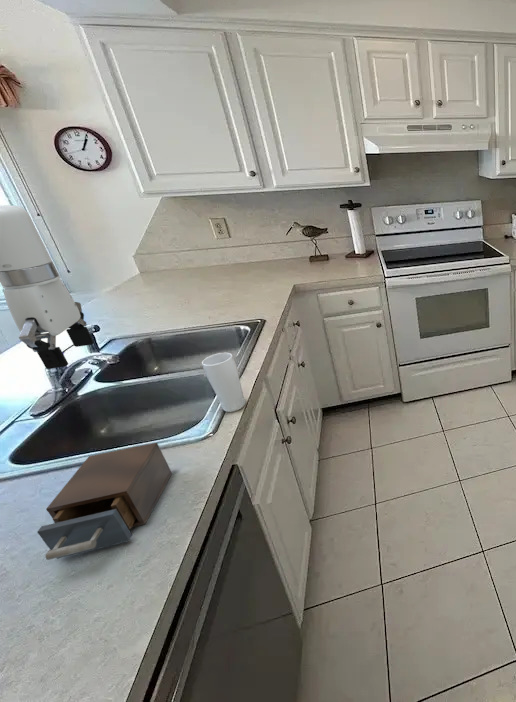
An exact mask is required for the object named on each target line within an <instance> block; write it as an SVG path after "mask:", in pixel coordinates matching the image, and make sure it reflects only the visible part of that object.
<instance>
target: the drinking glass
mask: <svg viewBox="0 0 516 702" xmlns="http://www.w3.org/2000/svg"><path fill="white" fill-rule="evenodd" d="M201 366H202V368H203V371H204V373H205V376H206V378H207V380H208V382H209V384H210V386H211V389H212V390H213V392H214V394H215V395H216V397H217V399H218V401H219V404H220V405H221V408H222V410H223V411H224V412H226V413H232V412H237V411H239V410H241V409H242V408H244V406H245V405H246V399H245V396H244V391H243V388H242V384H241V379H240V374H239V371H238V366H237V364H236V361H235V359H234V356H233V354H232V353H231V352H218V353H213V354H211V355H209V356H207V357H205V358H204V359H203V360H202V361H201Z"/></svg>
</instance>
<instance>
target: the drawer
mask: <svg viewBox="0 0 516 702" xmlns="http://www.w3.org/2000/svg"><path fill="white" fill-rule="evenodd" d="M135 520H136V516H135V515H134V513H133V511H132V510H131V508H130V506H129V504H128V503H127V501H126V499H125V498H124V496H123V495H122V496H118V497H114V498H109V499H105V500H100V501H96V502H91V503H87V504H82V505H78V506H74V507H69V508H65V509H60V510H59V512H58V513H57V514H56V515H55V517H54V518H52V521H53V523H49V524H44V525H41V526H40V527H39V529H38V530H37V531H36V533H37V534H38V535H39V537H40V538H41V539H42V541H43V543H45V545H46V546H47V548H48V549H49V550H47V552H46V553H45V560H47V561H49V560H54V559H57V560H59V559H62V558H67V557H71V556H75V555H78V554H83V553H87V552H91V551H94V550H98V549H99V550H100V549H103V548H107V547H110V546H115V545H118V544H122V543H126V542H129V541H130V540H131V539H132V536H133V534H132V533H131V531H130V530H131V529H132V528H133V527H132V525H133V524H134V522H135ZM131 527H132V528H131Z"/></svg>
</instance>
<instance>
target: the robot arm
mask: <svg viewBox="0 0 516 702" xmlns="http://www.w3.org/2000/svg"><path fill="white" fill-rule="evenodd" d="M0 285H1V286H2V288H3V290H2V291H3V296H4V299H5V302H6V305H7V308H8V310H9V312H10V315H11V317H12V318H13V320H14V323H15V325H16V328H17V329H18V331H19V332H20V333H19V335H18V339H19V340H20V341H21V342H23V343H24V344H25V345H26V347H27V348H28V349H31V350H32V351H33V352H34V353H37V355H38V356H39V358H40V360H41V362H42V363H43V365H44V367H45V368H46V369H48V370H51V369H52V370H53V369H56V368H57V369H58V368H65V367H68V365H69V362H68V360H67V358H66V356H65V355H64V353H63V351H62V349H61V348H60V346H56V345H57V342H56V341H57V336H59V335H60V334H61V333H63V332H65V331H66V333H67V335H68V337H69V339H70V341H71V343H72V344H73V346H74V347H75V348H76V347H85V346H92V345H94V344H95V341H94V339H93V337H92V335H91V333H90V331H89V329H88V327H87V321H86V320H84V319H85V313H84V312H83V308H82V304H81V302H78V301H75V300H74V298H73V297H72V295H71V293H70V291H69V290H68V288H67V287H66V285H65V283H64V282H63V281H62V279H61V276H60V273H59V271H58V270H57V267H56V266H55V264H54V262H53V259H52V258H51V256H50V254H49V252H48V249H47V247H46V245H45V244H44V242H43V240H42V238H41V236H40V234H39V232H38V229H37V228H36V226H35V224H34V222H33V220H32V218H31V216H30V214H29V212H28V211H27V210H26V209H25V208H23V207H22V206H18V205H13V204H12V205H11V204H7V205H6V204H4V205H3V204H2V205H0ZM42 339H43V340H42ZM44 339H47V340H46V341H47V342H46V341H44Z"/></svg>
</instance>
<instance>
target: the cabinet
mask: <svg viewBox="0 0 516 702" xmlns="http://www.w3.org/2000/svg"><path fill="white" fill-rule="evenodd" d="M172 475H173V472H172V470H171V468H170V466H169V464H168V462H167V460H166V458H165V455H164V454H163V452H162V450H161V448H160V446H159V443H158V442H153V443H149V444H148V443H147V444H143V445H137V446H133V447H128V448H123V449H118V450H113V451H108V452H103V453H98V454H93V455H89V456H88V457H87V458H86V459H85V461H84V462H83V463H82V464H81V465H80V467H79V468H78V469H77V471H76V472H75V473H74V474H73V475H72V477H70V479H69V480H68V481H67V483H66V484H65V485H64V486H63V487H62V489H60V490H59V493H58V494H57V495H56V496H55V497H54V498H53V499H52V501H51V502H50V503H49V505H47V507H46V508H45V510H46V512H47V513H48V514H49V516H50V517H51V518H52V519H53V518H54V517H55V515H56V514H57V513H58V512H59V510H60V509H65V508H69V507H74V506H78V505H82V504H87V503H91V502H96V501H100V500H105V499H109V498H114V497H118V496H122V495H123V496H124V498H125V499H126V501H127V503H128V504H129V506H130V508H131V510H132V511H133V513H134V515H135V516H136V520H135V522H134V524H133V525H132V527H131V529H132V528H136V527H139V526H144V525H146V524H147V522H148V520H149V518H150V517H151V514H152V513H153V511H154V509H155V506H156V505H157V503H158V501H159V499H160V498H161V496H162V493H163V492H164V490H165V488H166V486H167V484H168V482H169V480H170V478H171V476H172Z"/></svg>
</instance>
